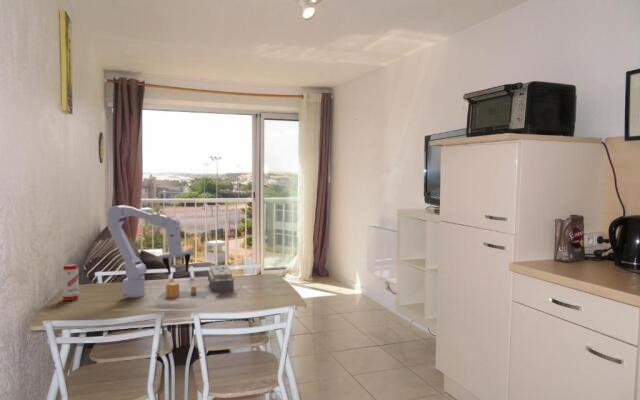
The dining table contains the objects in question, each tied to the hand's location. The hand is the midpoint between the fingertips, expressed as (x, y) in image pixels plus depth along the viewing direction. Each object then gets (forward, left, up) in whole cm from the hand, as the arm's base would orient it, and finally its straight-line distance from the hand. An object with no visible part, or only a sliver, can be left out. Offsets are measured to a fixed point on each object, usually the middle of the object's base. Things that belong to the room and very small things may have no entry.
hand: (178, 272), depth 209 cm
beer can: (-48, -3, -12) cm, 49 cm away
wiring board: (+2, +2, -12) cm, 12 cm away
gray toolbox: (+16, +19, -12) cm, 28 cm away
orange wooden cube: (-3, 0, -11) cm, 11 cm away
